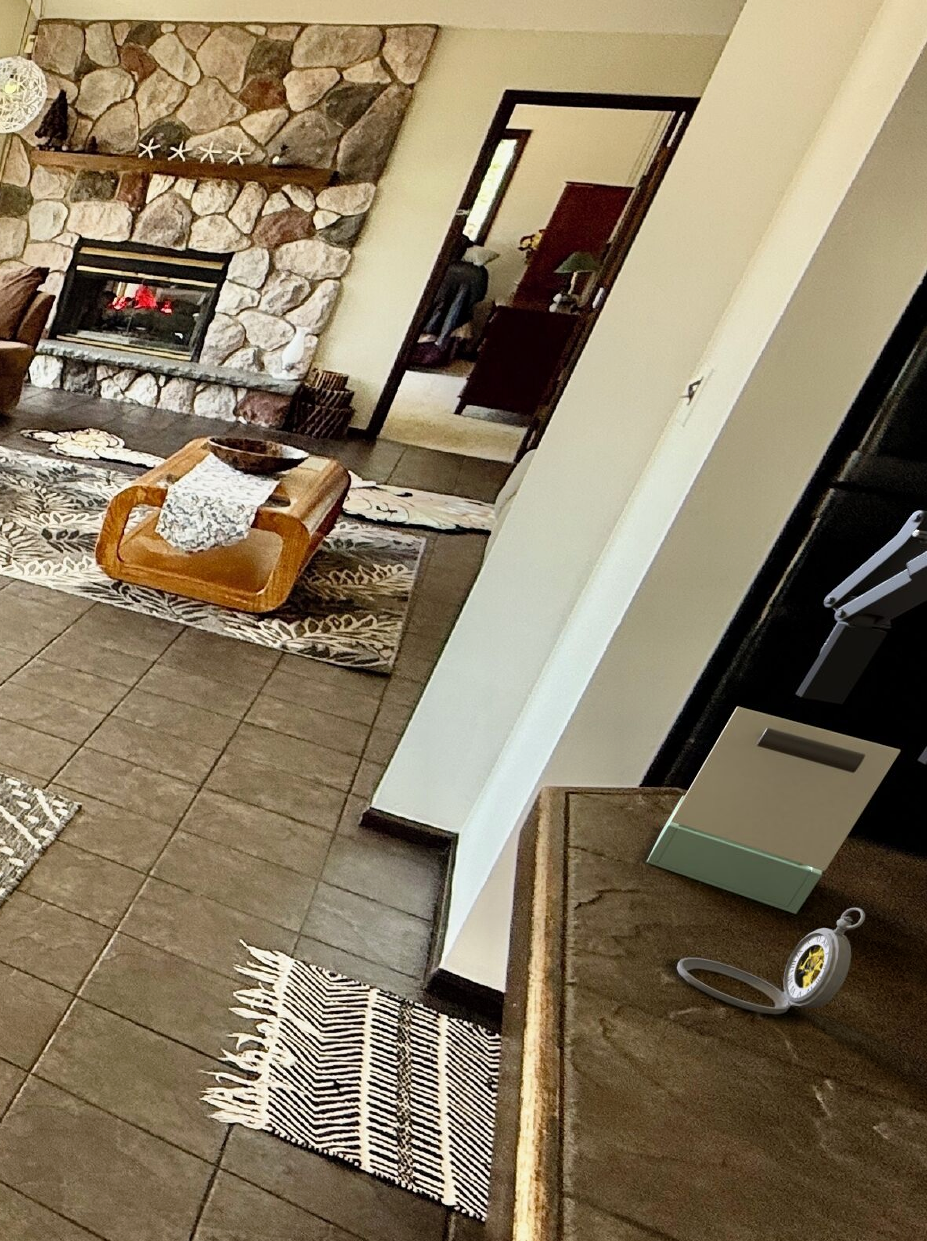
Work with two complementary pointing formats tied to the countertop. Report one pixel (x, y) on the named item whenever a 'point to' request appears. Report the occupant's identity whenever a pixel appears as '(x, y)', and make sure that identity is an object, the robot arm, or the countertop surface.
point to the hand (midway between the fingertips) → (877, 731)
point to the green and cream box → (733, 866)
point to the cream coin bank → (784, 787)
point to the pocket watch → (792, 971)
